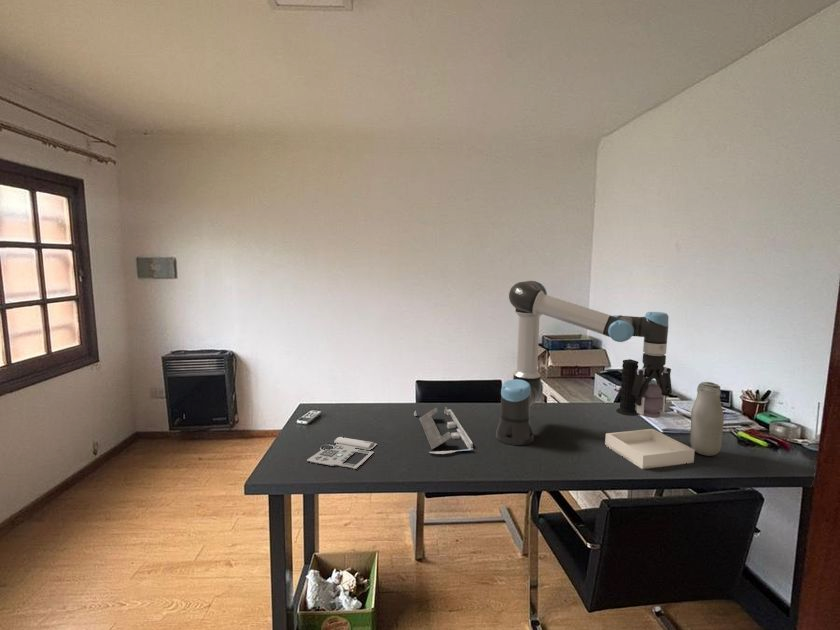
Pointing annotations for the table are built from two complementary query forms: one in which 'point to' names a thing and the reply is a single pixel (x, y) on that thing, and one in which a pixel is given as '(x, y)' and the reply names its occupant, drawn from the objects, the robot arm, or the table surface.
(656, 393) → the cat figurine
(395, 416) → the table surface
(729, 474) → the table surface
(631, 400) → the handle grip
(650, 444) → the tray
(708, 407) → the beige milk bottle
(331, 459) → the office telephone
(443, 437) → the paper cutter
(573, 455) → the table surface
